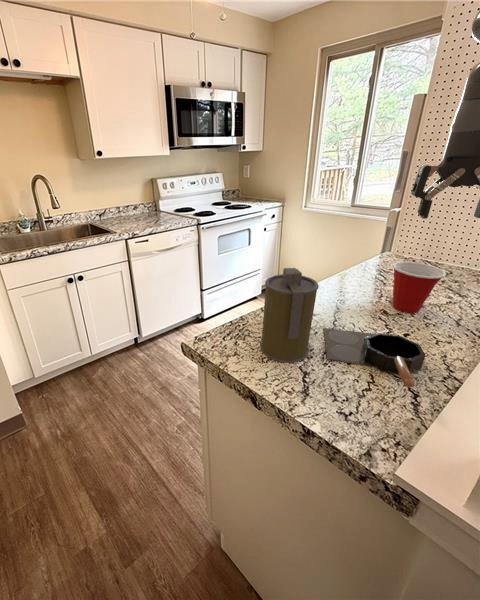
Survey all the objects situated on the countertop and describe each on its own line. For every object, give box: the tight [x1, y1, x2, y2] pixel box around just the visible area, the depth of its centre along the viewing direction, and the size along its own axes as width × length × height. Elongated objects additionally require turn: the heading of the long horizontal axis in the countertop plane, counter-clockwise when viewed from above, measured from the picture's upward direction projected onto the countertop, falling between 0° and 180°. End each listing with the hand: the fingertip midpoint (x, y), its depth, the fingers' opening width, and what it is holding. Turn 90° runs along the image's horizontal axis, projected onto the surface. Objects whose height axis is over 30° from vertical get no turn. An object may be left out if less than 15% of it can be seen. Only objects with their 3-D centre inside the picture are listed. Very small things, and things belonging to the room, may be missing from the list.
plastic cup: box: [392, 261, 447, 314], centre depth 83 cm, size 11×11×12 cm
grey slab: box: [323, 327, 419, 374], centre depth 71 cm, size 16×14×1 cm
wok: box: [362, 332, 426, 388], centre depth 63 cm, size 10×17×4 cm, turn 155°
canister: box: [259, 267, 319, 364], centre depth 69 cm, size 11×10×20 cm
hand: (450, 217), depth 63 cm, fingers open, 8 cm apart
